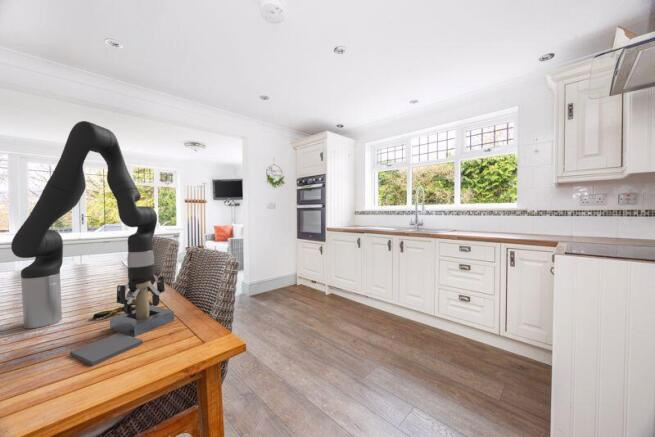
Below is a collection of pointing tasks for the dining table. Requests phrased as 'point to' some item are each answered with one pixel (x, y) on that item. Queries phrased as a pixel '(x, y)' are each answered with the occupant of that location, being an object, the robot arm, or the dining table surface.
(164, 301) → the dining table surface
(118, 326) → the holder
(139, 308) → the handle
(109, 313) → the toy snake
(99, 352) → the mat
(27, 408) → the dining table surface
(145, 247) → the robot arm
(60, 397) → the dining table surface
